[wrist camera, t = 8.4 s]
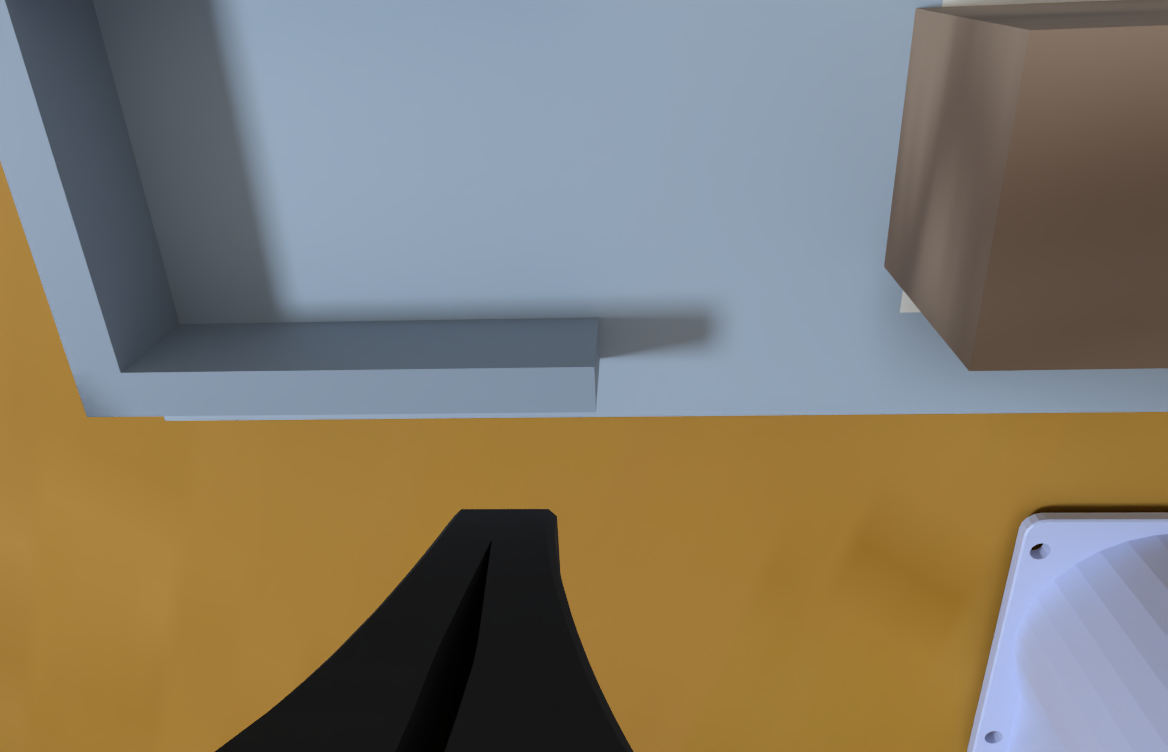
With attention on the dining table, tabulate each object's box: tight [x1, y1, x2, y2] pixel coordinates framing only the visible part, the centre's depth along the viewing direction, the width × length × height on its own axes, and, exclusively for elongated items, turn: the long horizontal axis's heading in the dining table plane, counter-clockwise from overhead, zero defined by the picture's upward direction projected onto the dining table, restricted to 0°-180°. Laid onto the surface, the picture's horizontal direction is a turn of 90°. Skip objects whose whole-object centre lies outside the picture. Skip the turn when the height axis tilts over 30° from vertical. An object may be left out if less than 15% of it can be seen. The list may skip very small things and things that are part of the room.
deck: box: [0, 0, 1168, 421], centre depth 16 cm, size 17×24×4 cm
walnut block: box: [884, 0, 1168, 371], centre depth 14 cm, size 5×5×5 cm
